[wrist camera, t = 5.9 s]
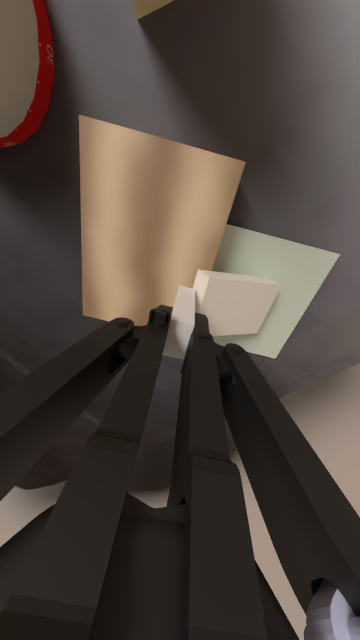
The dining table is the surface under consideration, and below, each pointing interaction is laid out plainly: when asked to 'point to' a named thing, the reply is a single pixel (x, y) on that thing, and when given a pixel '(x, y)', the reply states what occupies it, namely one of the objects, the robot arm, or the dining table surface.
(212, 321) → the white flat block
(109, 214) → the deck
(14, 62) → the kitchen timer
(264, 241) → the mat
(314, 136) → the dining table surface
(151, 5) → the milk carton
